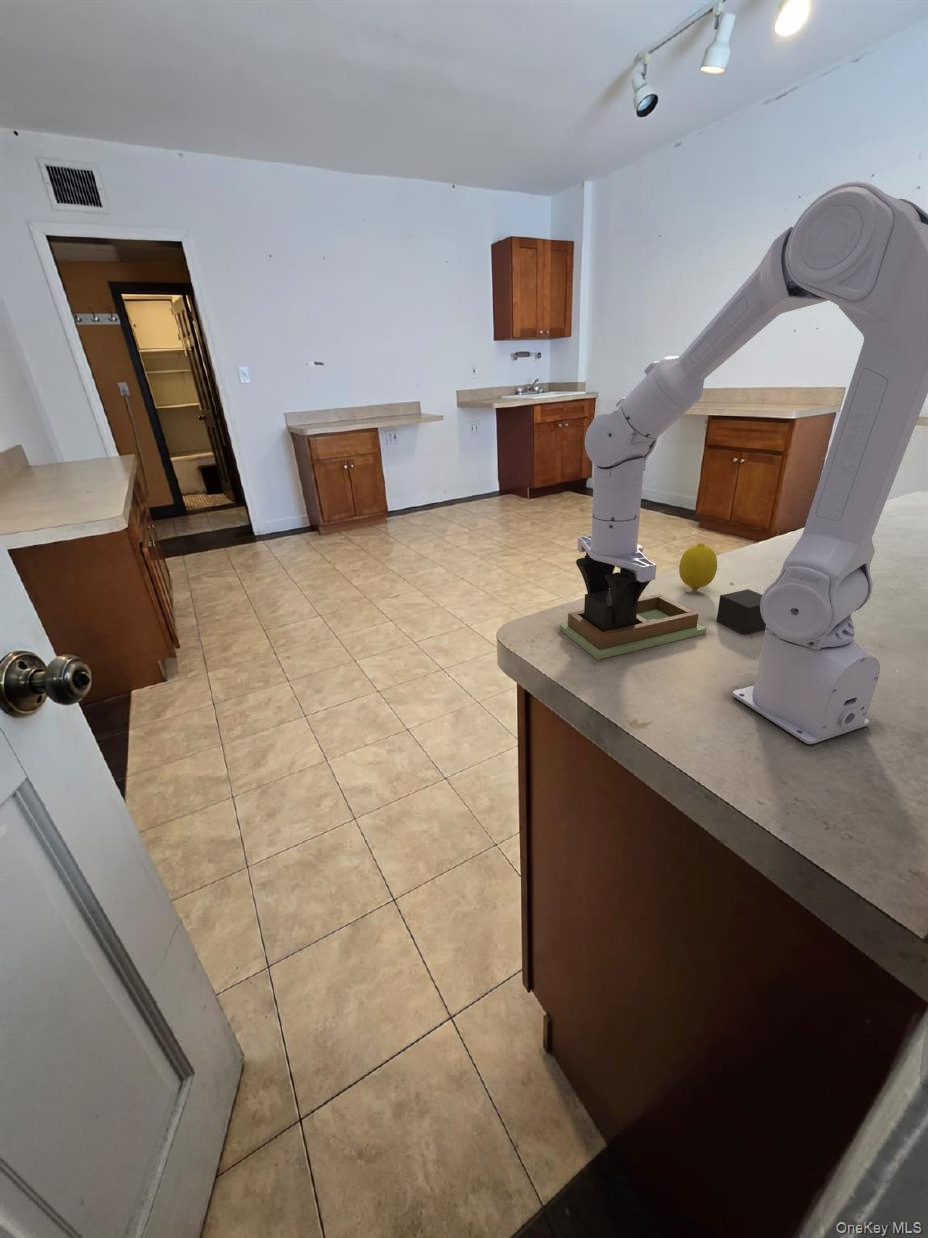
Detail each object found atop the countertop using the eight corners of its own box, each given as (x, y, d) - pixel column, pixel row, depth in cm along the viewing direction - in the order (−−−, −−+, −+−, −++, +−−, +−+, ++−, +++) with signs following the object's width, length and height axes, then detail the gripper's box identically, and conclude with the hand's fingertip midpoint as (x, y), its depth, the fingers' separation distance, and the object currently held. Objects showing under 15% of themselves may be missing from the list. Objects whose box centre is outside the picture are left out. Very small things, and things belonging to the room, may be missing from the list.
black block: (772, 627, 70) (778, 600, 68) (743, 635, 69) (748, 607, 67) (743, 614, 74) (748, 588, 73) (715, 621, 73) (719, 595, 71)
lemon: (717, 596, 81) (724, 548, 77) (679, 596, 82) (685, 548, 79) (709, 584, 86) (716, 537, 82) (674, 583, 87) (679, 538, 83)
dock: (706, 633, 70) (708, 614, 69) (597, 660, 65) (598, 640, 64) (658, 607, 79) (659, 590, 77) (559, 629, 74) (559, 611, 73)
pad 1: (635, 627, 69) (638, 600, 67) (603, 634, 67) (605, 607, 66) (614, 613, 73) (615, 587, 71) (583, 620, 72) (584, 594, 70)
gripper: (682, 523, 59) (670, 629, 64) (610, 501, 71) (605, 591, 77) (630, 532, 57) (622, 641, 62) (565, 508, 69) (563, 600, 75)
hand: (609, 614), depth 70 cm, fingers closed on pad 1, 5 cm apart
